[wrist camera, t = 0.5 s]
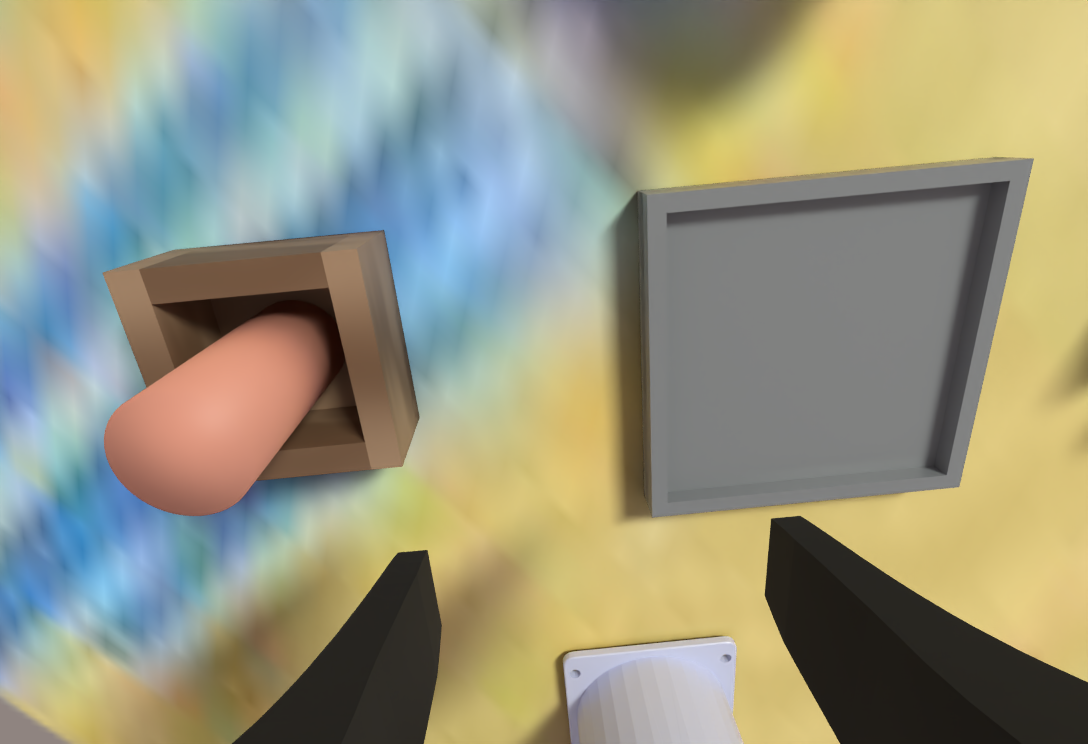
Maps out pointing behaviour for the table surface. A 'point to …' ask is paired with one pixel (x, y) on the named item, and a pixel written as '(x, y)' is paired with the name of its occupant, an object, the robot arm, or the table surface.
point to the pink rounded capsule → (224, 411)
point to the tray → (819, 330)
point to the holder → (259, 281)
